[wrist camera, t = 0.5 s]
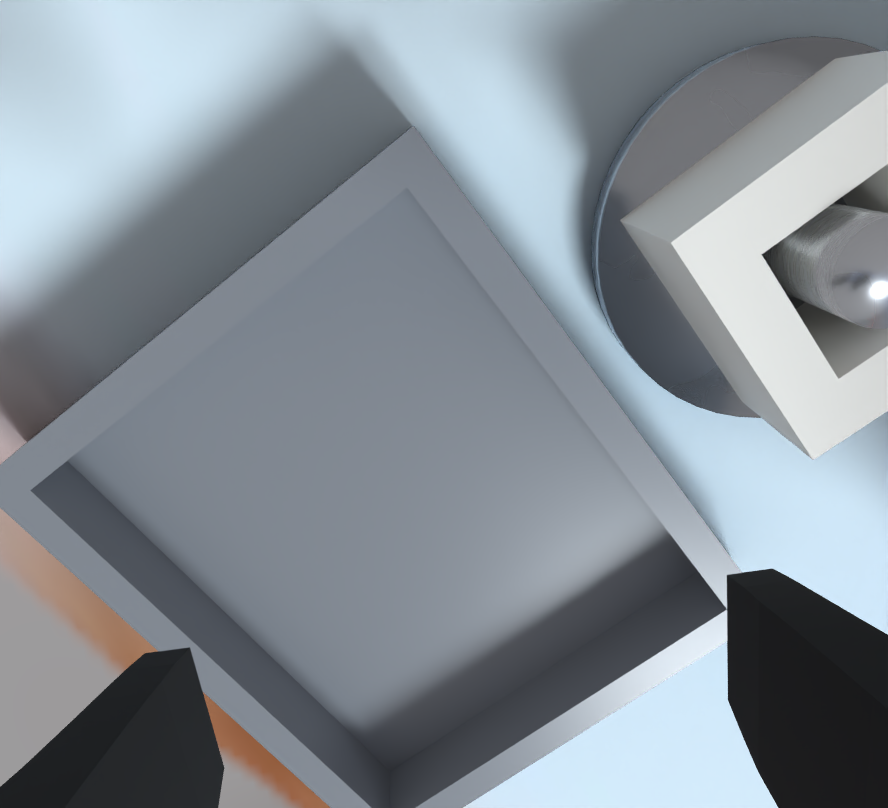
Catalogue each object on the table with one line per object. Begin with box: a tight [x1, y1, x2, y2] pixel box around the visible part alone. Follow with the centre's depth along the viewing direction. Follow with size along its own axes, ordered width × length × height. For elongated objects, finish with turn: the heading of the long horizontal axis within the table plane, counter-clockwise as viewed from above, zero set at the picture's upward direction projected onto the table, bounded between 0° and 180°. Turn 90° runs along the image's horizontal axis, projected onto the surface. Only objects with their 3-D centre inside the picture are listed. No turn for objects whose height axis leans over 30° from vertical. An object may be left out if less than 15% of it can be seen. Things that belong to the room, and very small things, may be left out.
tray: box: [0, 126, 742, 808], centre depth 19 cm, size 14×12×2 cm
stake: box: [592, 37, 888, 418], centre depth 16 cm, size 8×8×5 cm
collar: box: [620, 50, 888, 460], centre depth 16 cm, size 5×7×4 cm
